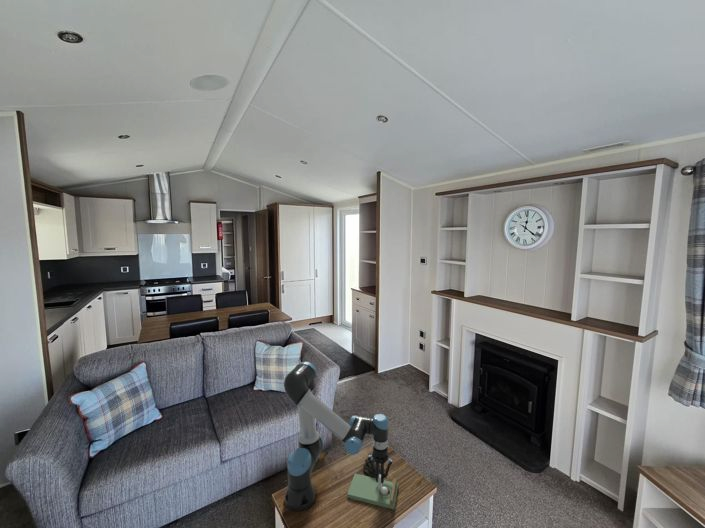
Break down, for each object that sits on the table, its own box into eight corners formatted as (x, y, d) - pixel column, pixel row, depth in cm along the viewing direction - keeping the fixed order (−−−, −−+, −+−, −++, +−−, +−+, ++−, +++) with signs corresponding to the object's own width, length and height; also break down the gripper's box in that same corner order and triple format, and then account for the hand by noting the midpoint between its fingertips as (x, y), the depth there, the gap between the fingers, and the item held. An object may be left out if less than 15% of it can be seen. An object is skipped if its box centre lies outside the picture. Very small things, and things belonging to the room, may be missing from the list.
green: (347, 497, 160) (347, 489, 159) (354, 476, 173) (354, 469, 173) (394, 509, 153) (394, 501, 153) (398, 486, 166) (398, 479, 166)
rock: (376, 485, 168) (389, 471, 172) (364, 469, 170) (377, 454, 174) (369, 481, 179) (381, 467, 183) (358, 465, 181) (370, 452, 185)
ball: (378, 494, 160) (382, 489, 159) (379, 488, 164) (383, 483, 163) (384, 499, 160) (388, 494, 159) (386, 493, 163) (390, 488, 162)
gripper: (366, 448, 157) (365, 490, 160) (391, 453, 154) (391, 496, 156) (369, 438, 164) (369, 479, 167) (394, 443, 161) (393, 484, 164)
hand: (379, 487), depth 162 cm, fingers closed
